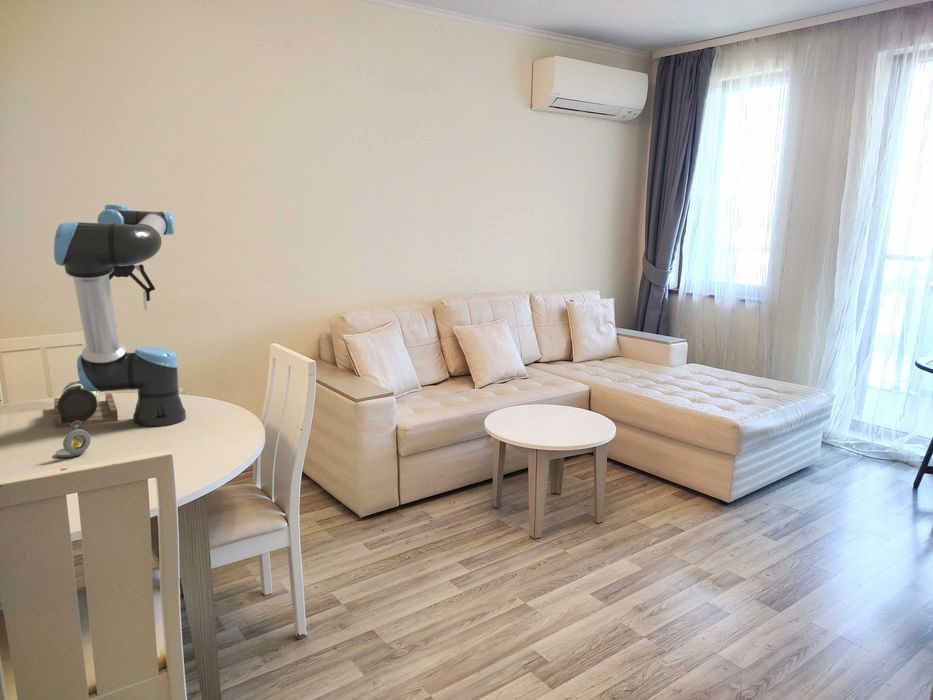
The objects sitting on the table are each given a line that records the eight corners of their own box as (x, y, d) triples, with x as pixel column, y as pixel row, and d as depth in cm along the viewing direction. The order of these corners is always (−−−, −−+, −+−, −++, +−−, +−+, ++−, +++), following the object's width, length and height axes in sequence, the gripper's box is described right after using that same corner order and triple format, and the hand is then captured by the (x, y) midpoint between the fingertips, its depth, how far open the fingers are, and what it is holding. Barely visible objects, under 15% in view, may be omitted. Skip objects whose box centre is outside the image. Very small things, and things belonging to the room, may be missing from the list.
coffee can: (58, 408, 196) (54, 419, 183) (65, 377, 195) (61, 386, 183) (95, 412, 201) (93, 423, 189) (102, 382, 200) (100, 391, 188)
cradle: (55, 408, 203) (54, 398, 202) (112, 402, 212) (111, 393, 211) (55, 427, 183) (54, 416, 183) (117, 420, 192) (117, 409, 192)
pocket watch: (64, 450, 165) (61, 414, 163) (97, 450, 166) (94, 415, 164) (46, 460, 157) (43, 423, 155) (80, 460, 158) (77, 424, 156)
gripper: (158, 250, 220) (161, 308, 224) (77, 249, 206) (82, 310, 210) (161, 251, 214) (164, 310, 218) (77, 249, 200) (82, 313, 204)
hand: (124, 310), depth 214 cm, fingers open, 13 cm apart
